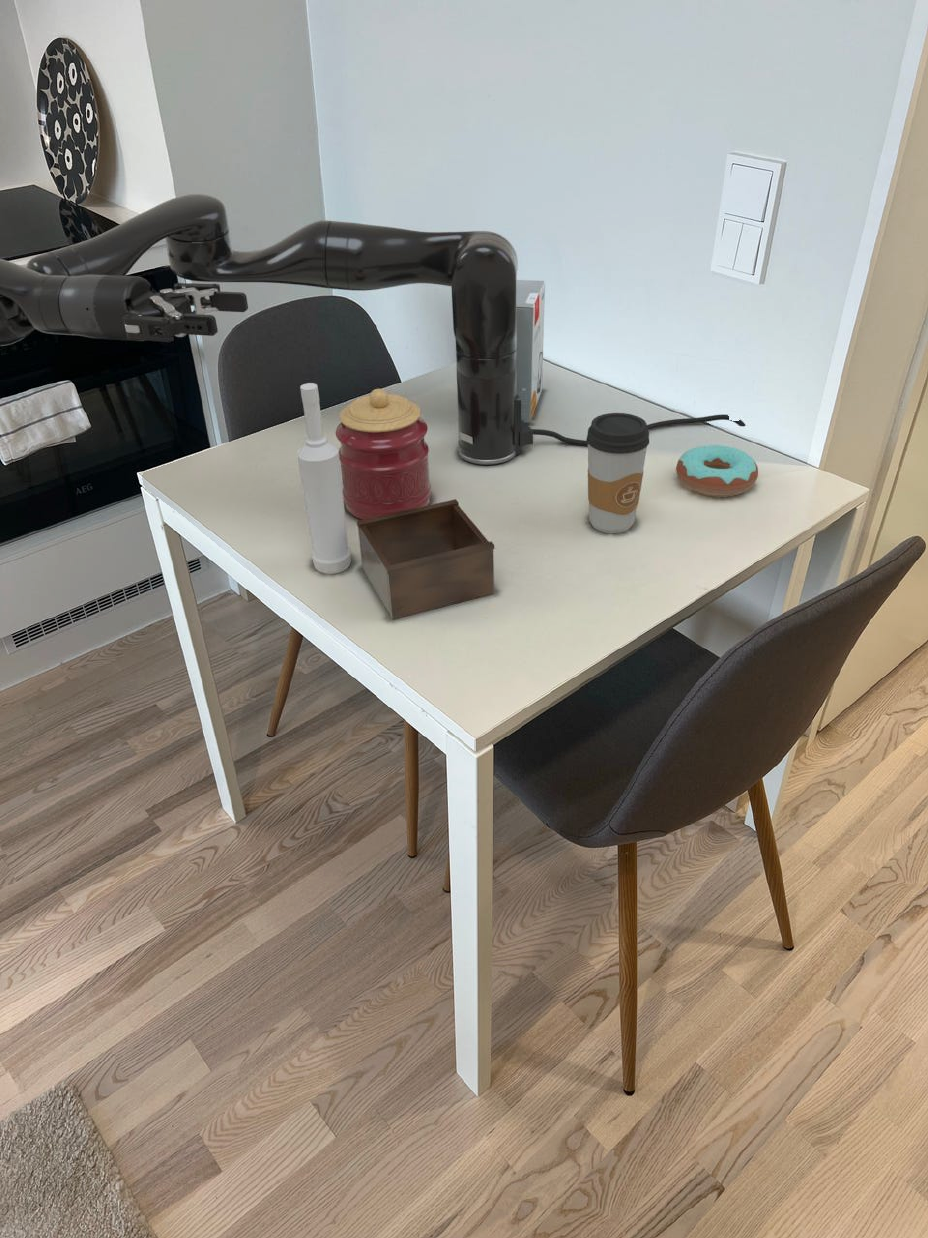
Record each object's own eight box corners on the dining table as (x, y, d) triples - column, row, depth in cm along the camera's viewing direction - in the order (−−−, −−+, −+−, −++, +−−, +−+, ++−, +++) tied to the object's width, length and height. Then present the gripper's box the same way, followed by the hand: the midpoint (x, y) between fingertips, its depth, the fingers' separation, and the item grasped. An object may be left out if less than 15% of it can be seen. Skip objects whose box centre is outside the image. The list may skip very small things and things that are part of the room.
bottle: (314, 555, 127) (288, 379, 112) (352, 552, 127) (331, 376, 112) (312, 576, 123) (285, 396, 108) (351, 573, 123) (330, 393, 108)
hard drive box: (531, 425, 159) (533, 307, 147) (487, 422, 160) (485, 306, 148) (543, 389, 171) (545, 278, 159) (502, 387, 172) (501, 277, 161)
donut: (682, 502, 136) (685, 477, 133) (668, 465, 145) (671, 441, 143) (764, 500, 135) (769, 476, 133) (745, 463, 145) (749, 439, 143)
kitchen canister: (411, 530, 131) (402, 413, 121) (328, 517, 135) (314, 402, 125) (444, 489, 141) (439, 377, 131) (366, 477, 145) (356, 367, 135)
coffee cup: (603, 543, 127) (610, 442, 118) (570, 517, 133) (574, 419, 124) (653, 528, 130) (664, 428, 121) (618, 503, 136) (626, 406, 127)
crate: (457, 545, 128) (455, 498, 123) (495, 594, 118) (494, 544, 114) (361, 568, 124) (356, 520, 119) (392, 620, 114) (387, 570, 110)
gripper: (68, 294, 106) (198, 300, 103) (131, 259, 117) (250, 264, 114) (85, 358, 111) (210, 365, 107) (145, 318, 122) (260, 325, 119)
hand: (231, 313), depth 111 cm, fingers open, 8 cm apart
